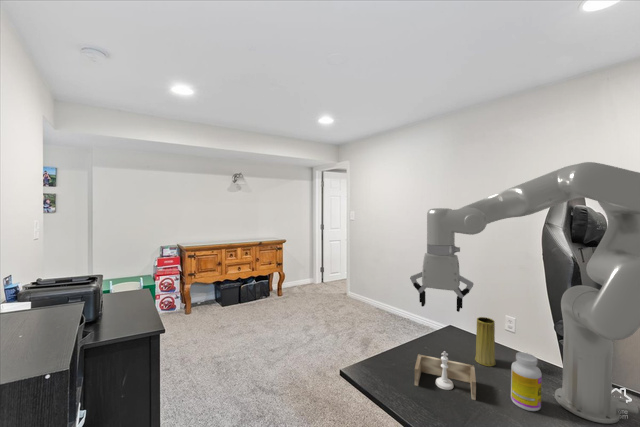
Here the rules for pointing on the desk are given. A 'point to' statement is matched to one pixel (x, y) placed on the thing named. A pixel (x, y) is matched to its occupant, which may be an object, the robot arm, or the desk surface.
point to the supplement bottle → (526, 382)
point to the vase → (485, 341)
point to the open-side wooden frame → (453, 371)
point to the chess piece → (444, 375)
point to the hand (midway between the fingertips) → (440, 307)
